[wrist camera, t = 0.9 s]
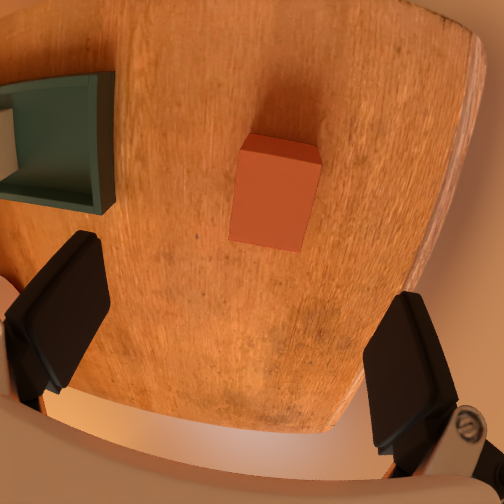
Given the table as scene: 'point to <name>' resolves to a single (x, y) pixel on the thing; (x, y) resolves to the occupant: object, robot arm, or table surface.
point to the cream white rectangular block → (7, 144)
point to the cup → (6, 296)
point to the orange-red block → (274, 192)
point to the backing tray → (62, 141)
